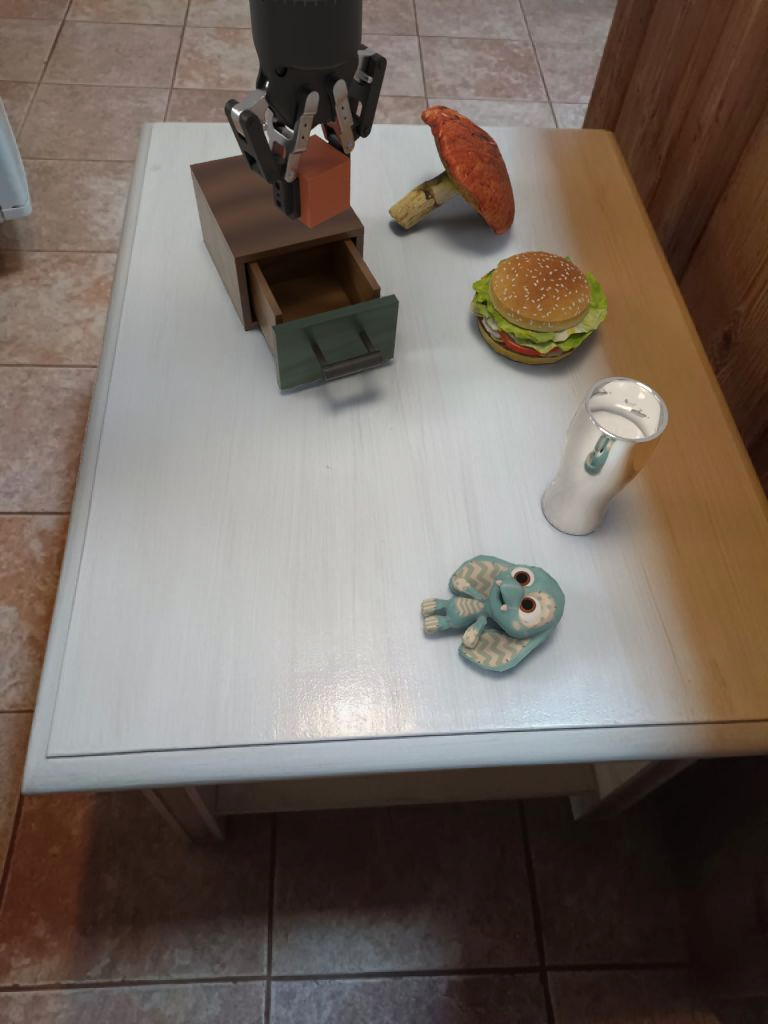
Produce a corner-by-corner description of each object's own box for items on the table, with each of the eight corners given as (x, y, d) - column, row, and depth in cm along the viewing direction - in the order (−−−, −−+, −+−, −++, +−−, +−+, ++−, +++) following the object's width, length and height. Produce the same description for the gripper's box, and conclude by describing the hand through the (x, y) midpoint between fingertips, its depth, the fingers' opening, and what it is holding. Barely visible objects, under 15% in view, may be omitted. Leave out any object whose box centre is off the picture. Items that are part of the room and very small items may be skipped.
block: (310, 229, 60) (308, 180, 56) (276, 202, 61) (272, 153, 57) (350, 207, 61) (351, 159, 58) (316, 182, 63) (315, 133, 59)
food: (514, 394, 76) (531, 340, 70) (447, 308, 83) (457, 250, 76) (617, 354, 80) (643, 299, 73) (546, 275, 86) (564, 217, 80)
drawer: (410, 387, 75) (417, 331, 68) (295, 421, 72) (291, 366, 65) (342, 270, 83) (343, 210, 77) (237, 296, 80) (227, 236, 74)
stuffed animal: (410, 538, 60) (554, 517, 60) (418, 575, 66) (548, 556, 66) (425, 662, 55) (584, 641, 54) (432, 689, 61) (575, 671, 60)
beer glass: (550, 467, 72) (597, 362, 59) (617, 495, 70) (680, 394, 58) (526, 521, 68) (570, 422, 55) (596, 551, 67) (658, 457, 54)
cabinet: (361, 300, 82) (364, 227, 74) (245, 331, 79) (234, 257, 71) (312, 216, 90) (310, 140, 81) (203, 241, 86) (189, 164, 78)
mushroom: (384, 243, 81) (519, 219, 78) (364, 96, 78) (503, 65, 76) (403, 262, 96) (516, 243, 94) (386, 140, 94) (503, 116, 91)
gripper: (349, -82, 50) (346, 150, 65) (177, -25, 45) (217, 214, 60) (424, -41, 48) (404, 190, 62) (252, 24, 42) (274, 262, 57)
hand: (312, 201), depth 61 cm, fingers closed on block, 4 cm apart
